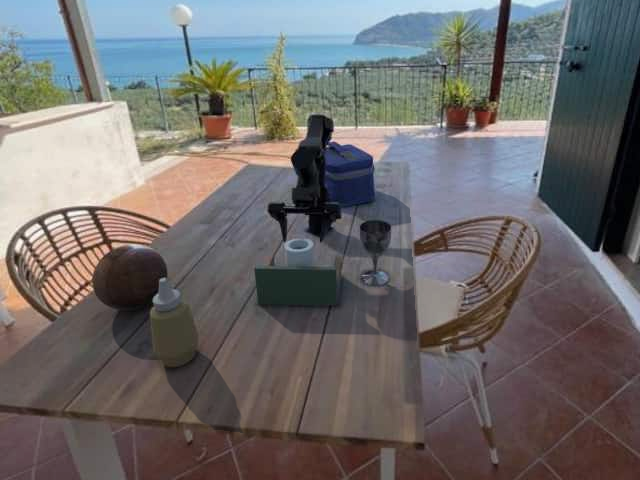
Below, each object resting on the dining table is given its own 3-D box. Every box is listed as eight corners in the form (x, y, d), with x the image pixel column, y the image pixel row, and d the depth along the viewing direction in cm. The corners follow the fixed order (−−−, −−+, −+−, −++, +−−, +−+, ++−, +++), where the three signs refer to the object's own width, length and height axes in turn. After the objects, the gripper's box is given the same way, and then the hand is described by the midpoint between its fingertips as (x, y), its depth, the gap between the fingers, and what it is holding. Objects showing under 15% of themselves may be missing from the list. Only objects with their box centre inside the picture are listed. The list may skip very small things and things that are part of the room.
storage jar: (302, 279, 102) (299, 235, 97) (321, 288, 98) (319, 243, 94) (282, 291, 97) (278, 245, 92) (302, 301, 93) (298, 254, 89)
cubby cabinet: (270, 274, 104) (267, 241, 101) (342, 275, 104) (341, 242, 100) (257, 304, 92) (253, 268, 89) (337, 306, 92) (336, 269, 88)
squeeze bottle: (166, 343, 80) (149, 268, 74) (206, 340, 81) (192, 266, 75) (150, 374, 73) (129, 294, 66) (194, 371, 74) (177, 291, 67)
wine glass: (368, 289, 98) (369, 236, 92) (354, 274, 104) (354, 224, 99) (395, 281, 101) (397, 229, 96) (380, 266, 108) (381, 217, 102)
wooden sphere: (185, 289, 98) (175, 236, 93) (143, 328, 85) (127, 269, 79) (134, 282, 101) (121, 230, 96) (85, 319, 87) (66, 262, 82)
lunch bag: (305, 185, 170) (303, 139, 162) (349, 178, 178) (349, 134, 171) (331, 210, 144) (330, 157, 136) (381, 201, 152) (382, 150, 145)
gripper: (265, 172, 97) (257, 231, 91) (339, 172, 97) (336, 232, 90) (275, 190, 108) (268, 244, 101) (342, 191, 107) (340, 246, 101)
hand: (302, 241), depth 98 cm, fingers open, 9 cm apart
